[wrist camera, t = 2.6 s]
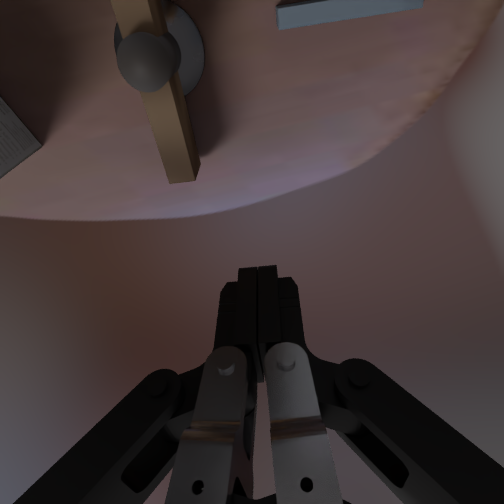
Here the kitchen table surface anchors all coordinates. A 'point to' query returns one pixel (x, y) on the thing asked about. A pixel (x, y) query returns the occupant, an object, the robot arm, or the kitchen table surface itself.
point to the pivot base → (181, 44)
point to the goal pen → (337, 10)
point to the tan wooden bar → (157, 83)
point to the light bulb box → (14, 140)
